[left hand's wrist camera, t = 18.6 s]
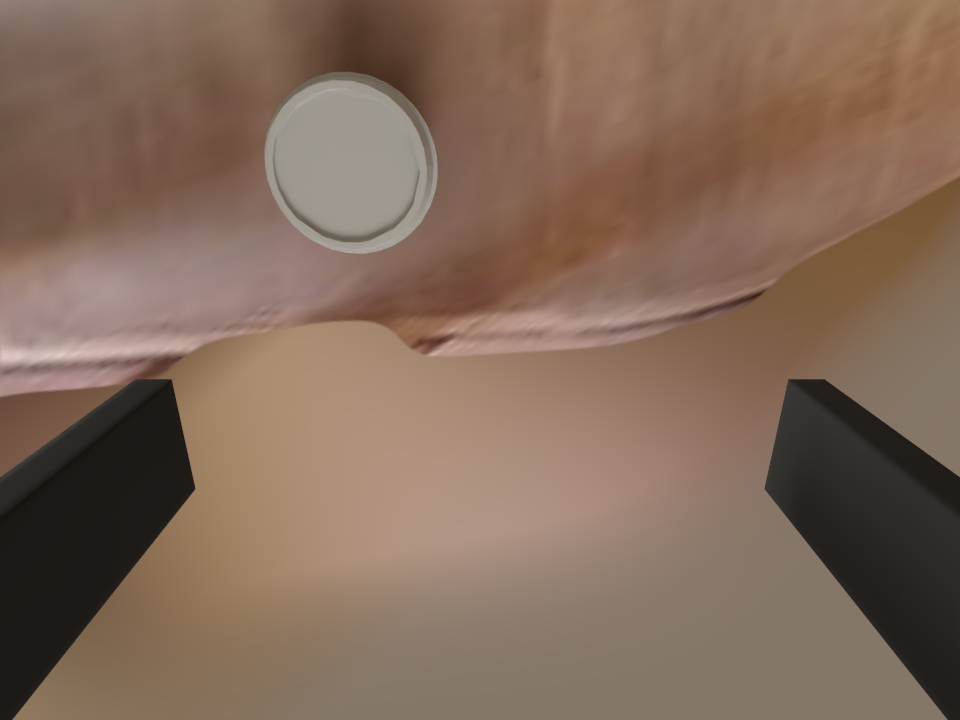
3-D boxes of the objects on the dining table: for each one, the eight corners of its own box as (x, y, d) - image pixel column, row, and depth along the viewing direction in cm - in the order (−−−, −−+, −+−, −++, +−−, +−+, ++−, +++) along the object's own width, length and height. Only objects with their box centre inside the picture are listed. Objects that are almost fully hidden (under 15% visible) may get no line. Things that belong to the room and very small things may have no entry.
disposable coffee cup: (430, 239, 44) (413, 277, 33) (306, 205, 43) (245, 231, 32) (462, 108, 40) (456, 100, 29) (328, 68, 39) (269, 43, 28)
